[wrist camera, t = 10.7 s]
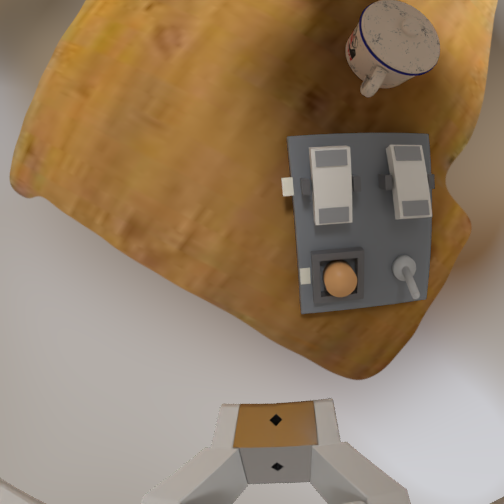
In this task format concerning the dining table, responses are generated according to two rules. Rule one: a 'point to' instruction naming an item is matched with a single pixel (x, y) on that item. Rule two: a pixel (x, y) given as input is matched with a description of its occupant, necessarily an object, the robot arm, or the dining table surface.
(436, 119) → the dining table surface
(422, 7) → the dining table surface
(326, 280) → the button
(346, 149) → the rocker
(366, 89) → the teacup with lid
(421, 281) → the panel
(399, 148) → the rocker
